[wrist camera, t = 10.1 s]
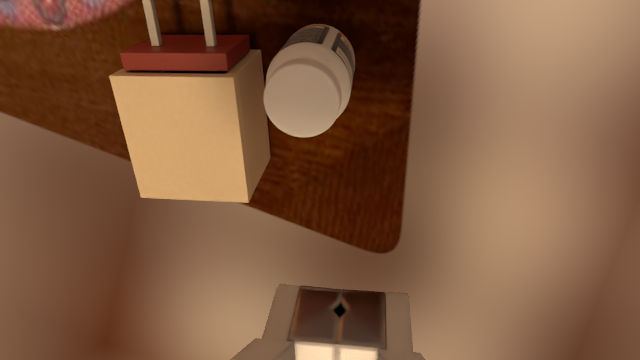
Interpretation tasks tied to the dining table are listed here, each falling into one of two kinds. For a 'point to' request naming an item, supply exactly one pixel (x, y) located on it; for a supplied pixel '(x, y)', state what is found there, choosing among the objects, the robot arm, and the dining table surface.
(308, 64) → the pill bottle
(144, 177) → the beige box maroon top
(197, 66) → the drawer
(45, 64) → the dining table surface
